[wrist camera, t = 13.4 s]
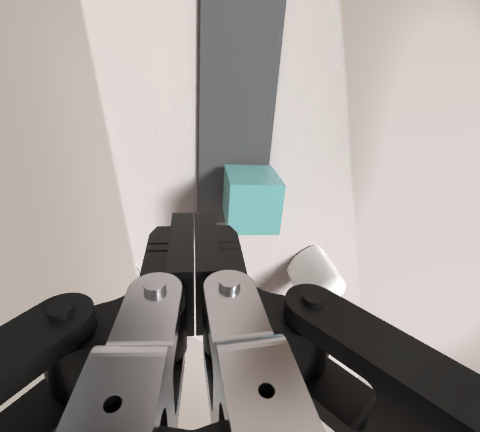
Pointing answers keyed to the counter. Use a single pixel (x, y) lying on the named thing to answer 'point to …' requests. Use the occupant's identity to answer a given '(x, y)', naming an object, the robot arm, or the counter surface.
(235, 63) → the mat
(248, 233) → the teal rectangular block
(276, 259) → the counter surface
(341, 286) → the eye dropper bottle
